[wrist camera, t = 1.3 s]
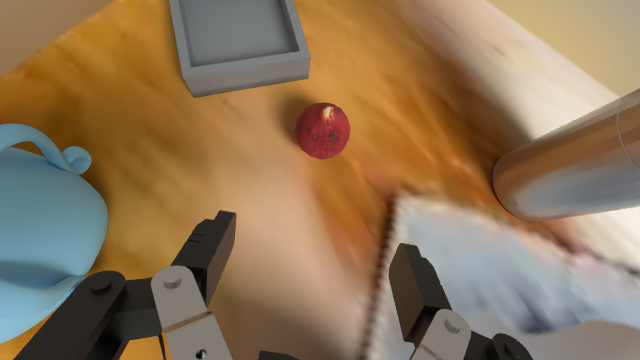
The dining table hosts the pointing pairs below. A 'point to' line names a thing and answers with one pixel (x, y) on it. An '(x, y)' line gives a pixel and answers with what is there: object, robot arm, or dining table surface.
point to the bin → (238, 44)
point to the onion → (322, 130)
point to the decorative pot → (43, 227)
